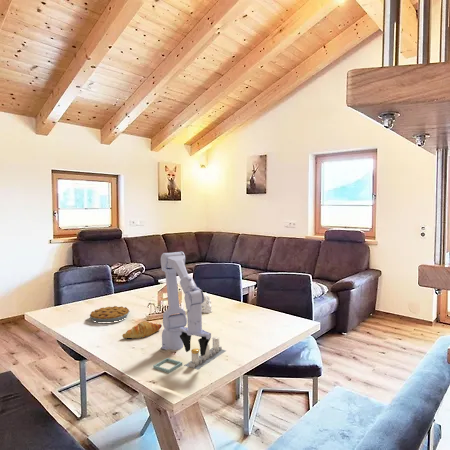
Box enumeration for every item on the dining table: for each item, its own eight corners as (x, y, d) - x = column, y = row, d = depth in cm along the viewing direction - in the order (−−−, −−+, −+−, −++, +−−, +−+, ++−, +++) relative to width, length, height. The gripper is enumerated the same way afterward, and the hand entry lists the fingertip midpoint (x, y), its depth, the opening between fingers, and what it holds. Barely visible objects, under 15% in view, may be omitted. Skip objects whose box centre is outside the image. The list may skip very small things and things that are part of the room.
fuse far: (211, 351, 159) (211, 338, 159) (215, 349, 162) (214, 336, 161) (217, 353, 158) (216, 339, 157) (220, 350, 160) (220, 337, 160)
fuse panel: (184, 367, 146) (183, 362, 146) (213, 349, 164) (213, 344, 164) (198, 371, 143) (197, 366, 143) (226, 352, 160) (226, 347, 160)
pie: (134, 312, 220) (134, 304, 220) (121, 325, 198) (120, 316, 198) (100, 312, 222) (100, 304, 222) (82, 324, 200) (82, 315, 200)
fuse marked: (190, 365, 147) (189, 350, 146) (194, 362, 149) (194, 347, 149) (196, 366, 145) (195, 352, 145) (200, 363, 148) (200, 349, 147)
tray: (153, 369, 144) (153, 365, 144) (167, 362, 151) (167, 357, 151) (169, 375, 140) (168, 370, 140) (182, 366, 147) (182, 362, 147)
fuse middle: (201, 358, 153) (200, 344, 152) (205, 355, 155) (205, 341, 155) (207, 359, 151) (206, 345, 151) (211, 357, 154) (210, 343, 153)
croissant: (125, 348, 175) (127, 336, 172) (117, 333, 182) (119, 322, 178) (164, 336, 188) (167, 325, 185) (155, 323, 195) (158, 312, 191)
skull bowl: (207, 312, 213) (198, 293, 216) (193, 321, 221) (185, 303, 224) (219, 308, 221) (210, 290, 224) (205, 316, 229) (197, 299, 232)
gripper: (174, 319, 146) (175, 352, 147) (203, 325, 139) (204, 360, 139) (185, 315, 152) (185, 346, 153) (213, 320, 144) (214, 353, 145)
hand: (195, 352), depth 147 cm, fingers open, 7 cm apart
